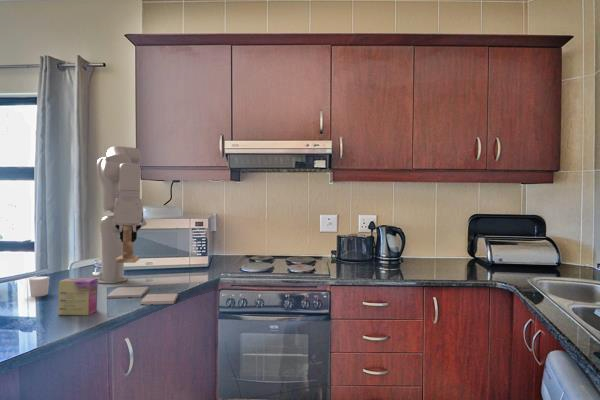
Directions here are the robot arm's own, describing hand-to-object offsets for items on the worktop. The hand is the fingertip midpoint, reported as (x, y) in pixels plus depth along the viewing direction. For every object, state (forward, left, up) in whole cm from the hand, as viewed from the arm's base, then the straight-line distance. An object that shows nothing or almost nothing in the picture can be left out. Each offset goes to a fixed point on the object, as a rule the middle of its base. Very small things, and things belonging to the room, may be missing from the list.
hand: (128, 241), depth 139 cm
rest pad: (-3, +11, -24) cm, 26 cm away
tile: (+6, -1, -23) cm, 24 cm away
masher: (0, 0, -8) cm, 8 cm away
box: (-13, -13, -24) cm, 30 cm away
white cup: (-38, +13, -24) cm, 47 cm away
